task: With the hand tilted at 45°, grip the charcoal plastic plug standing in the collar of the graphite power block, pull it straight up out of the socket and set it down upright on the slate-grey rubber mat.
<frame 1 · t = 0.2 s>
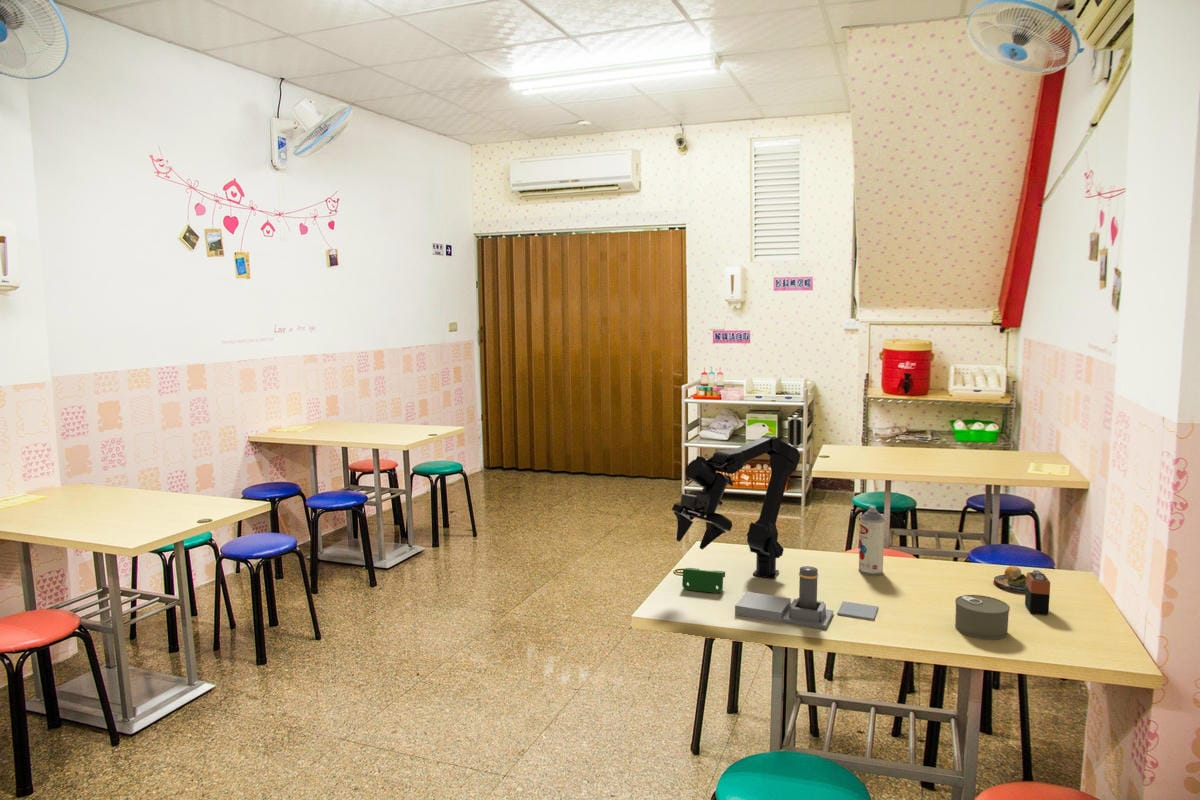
hand: (689, 544, 216), 15 cm above the table, tool tilted 35°, fingers open, 9 cm apart
can: (980, 631, 194), on the table
aerosol can: (870, 572, 237), on the table
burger: (1016, 588, 224), on the table
clamp: (704, 589, 225), on the table
socket block: (807, 618, 202), on the table
mat: (857, 611, 207), on the table
battery: (1036, 611, 206), on the table
plug: (808, 593, 202), in the socket block
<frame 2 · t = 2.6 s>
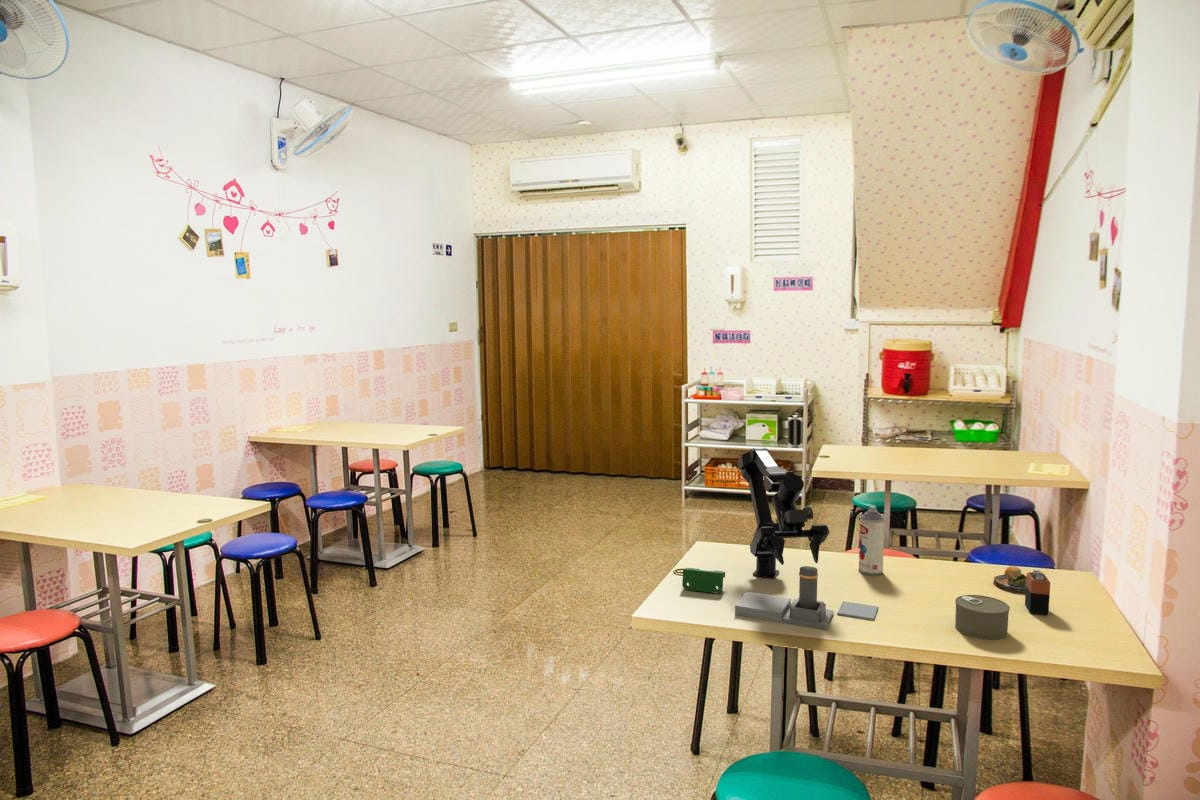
hand: (799, 563, 207), 12 cm above the table, tool tilted 45°, fingers open, 9 cm apart
nothing on the table moved.
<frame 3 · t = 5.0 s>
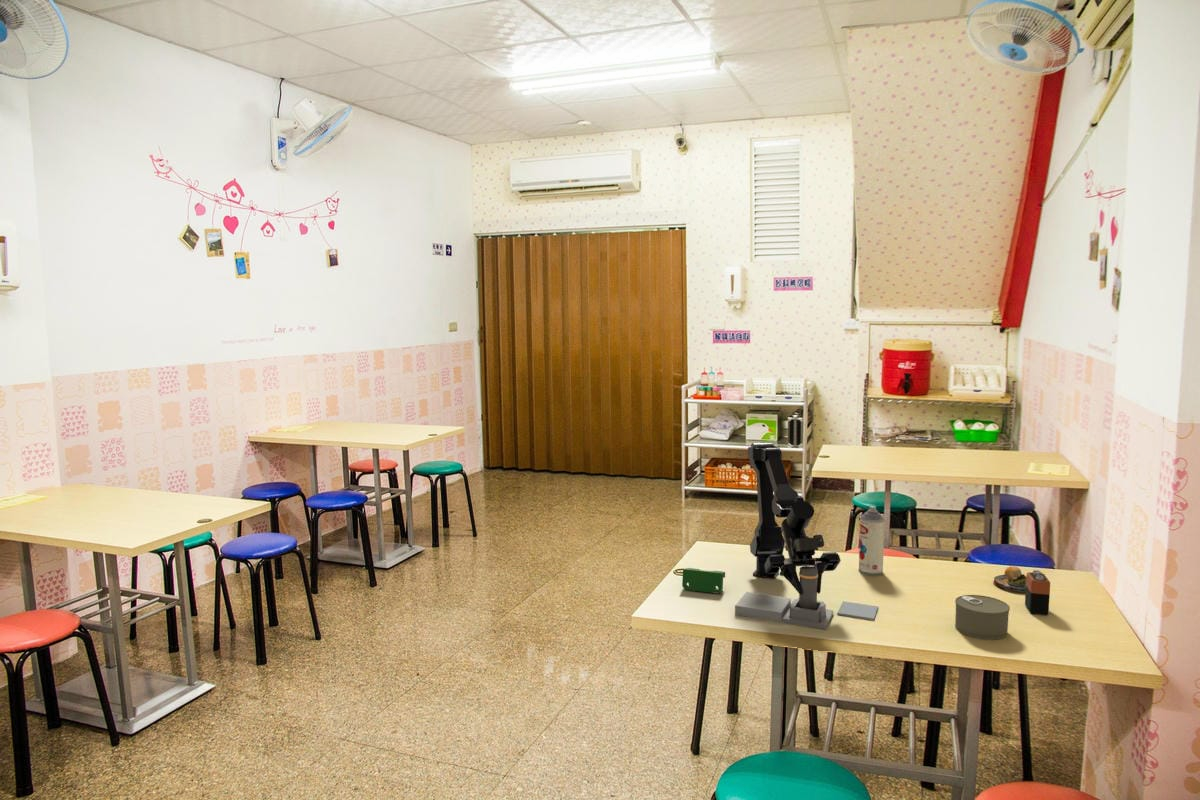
hand: (810, 593, 200), 7 cm above the table, tool tilted 45°, fingers closed on plug, 4 cm apart
plug: (808, 593, 202), in the socket block, touching gripper
everything else where it was.
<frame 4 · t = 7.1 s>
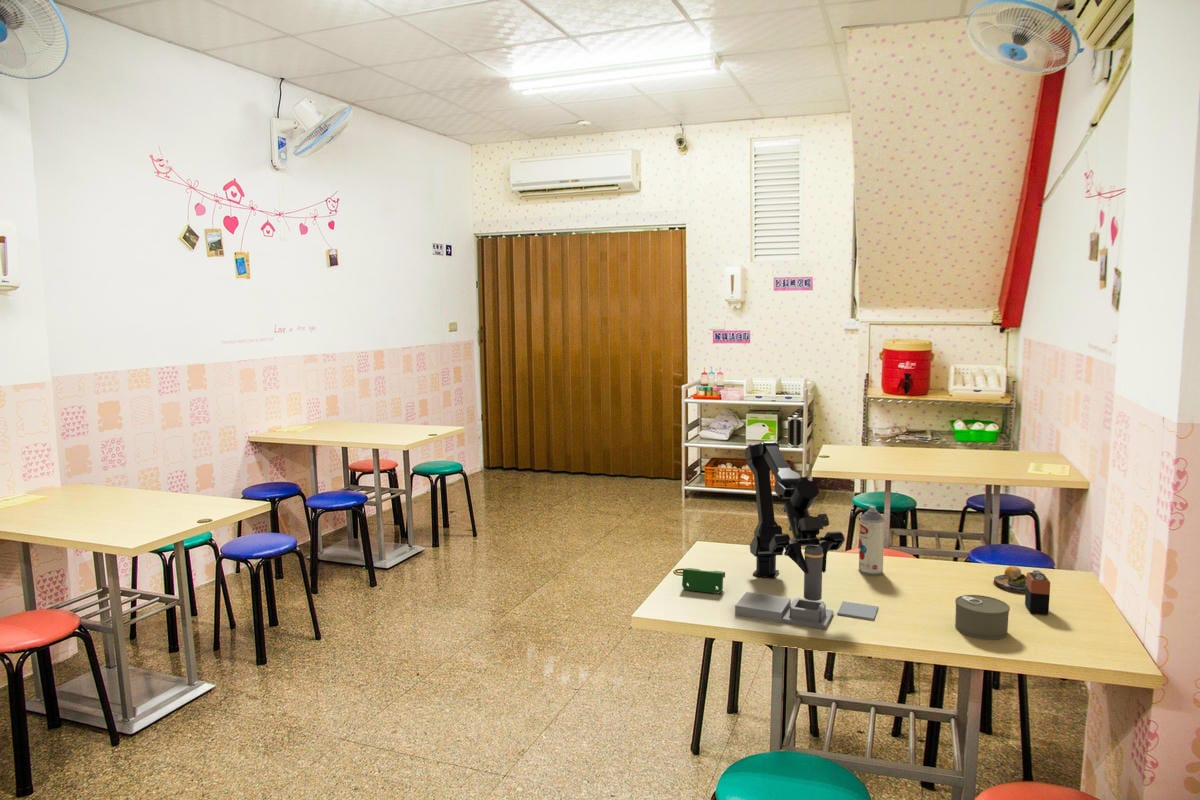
hand: (815, 572, 200), 12 cm above the table, tool tilted 45°, fingers closed on plug, 4 cm apart
plug: (813, 572, 201), point 12 cm above the table, touching gripper
everything else where it was.
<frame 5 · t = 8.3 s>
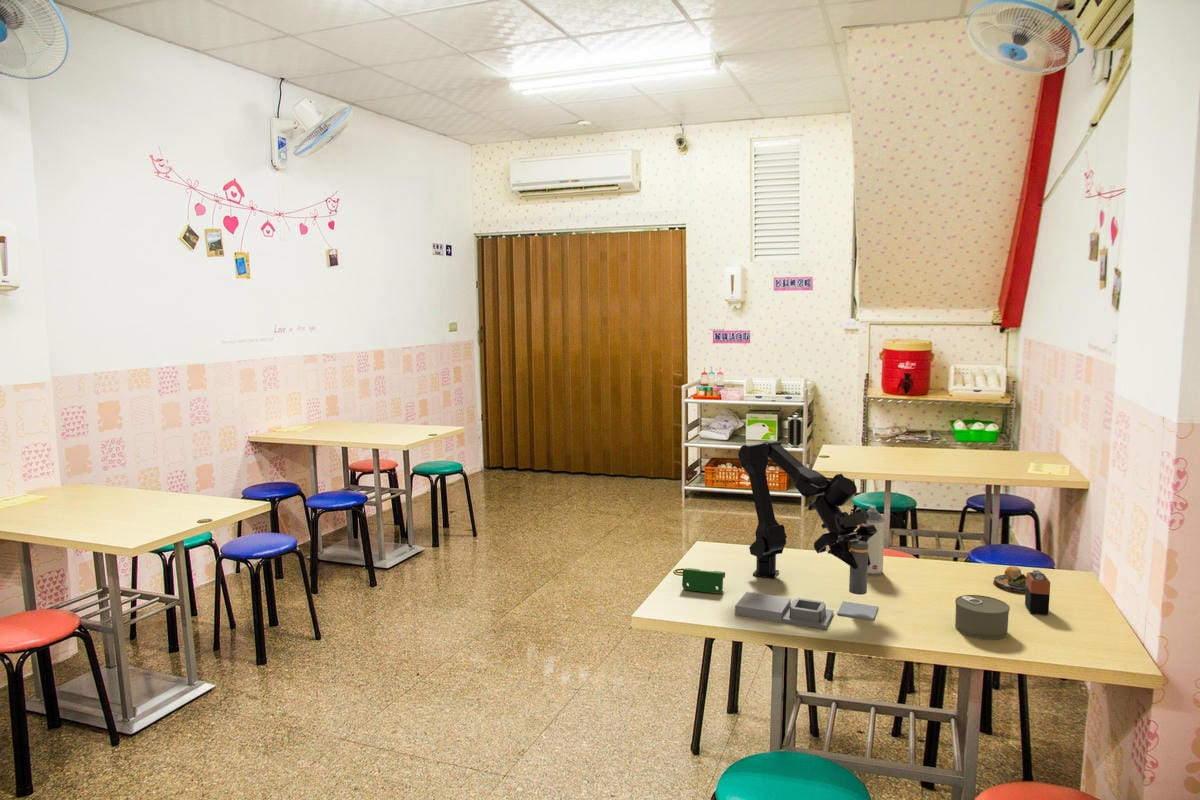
hand: (862, 566, 204), 12 cm above the table, tool tilted 45°, fingers closed on plug, 4 cm apart
plug: (858, 567, 205), point 12 cm above the table, touching gripper
everything else where it was.
when the fingers open (9 cm above the table, at t = 9.4 s): plug drops 1 cm, resting on mat.
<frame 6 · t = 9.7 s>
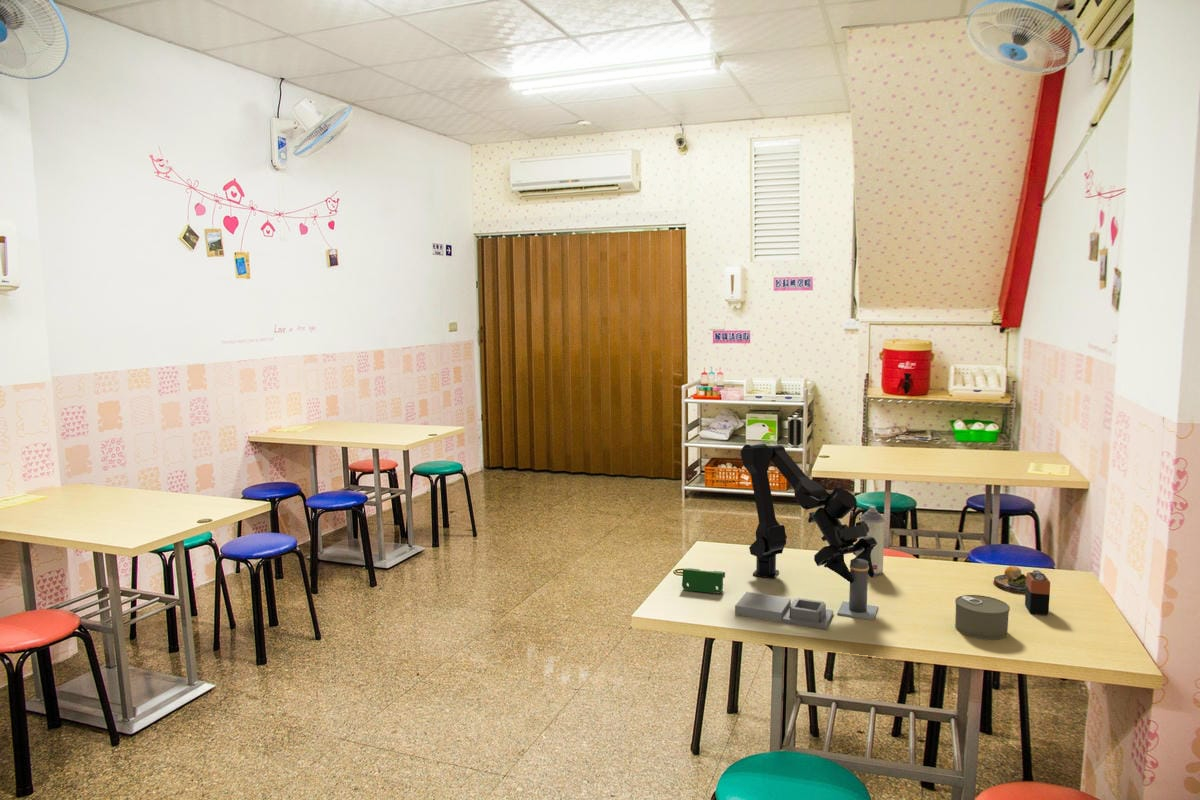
hand: (863, 579, 204), 9 cm above the table, tool tilted 45°, fingers open, 7 cm apart
plug: (858, 585, 206), on the mat
everything else where it was.
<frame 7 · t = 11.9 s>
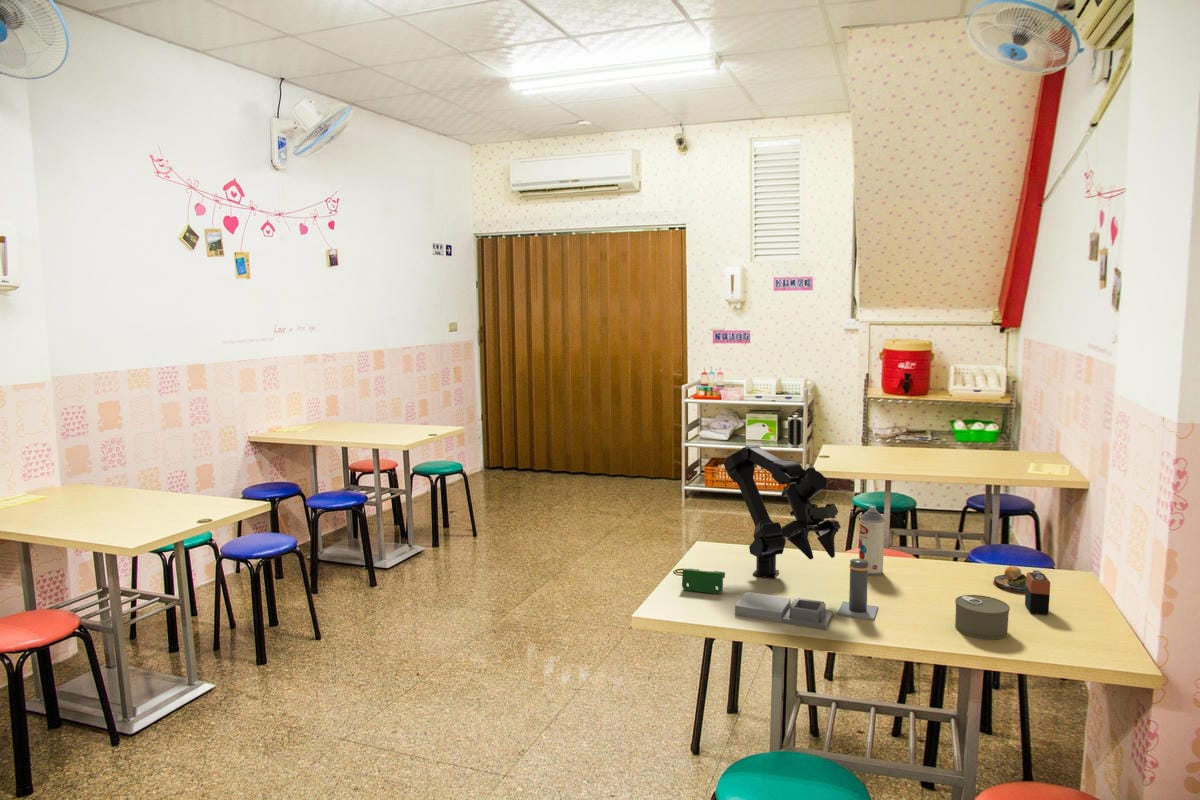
hand: (822, 558, 212), 12 cm above the table, tool tilted 35°, fingers open, 9 cm apart
nothing on the table moved.
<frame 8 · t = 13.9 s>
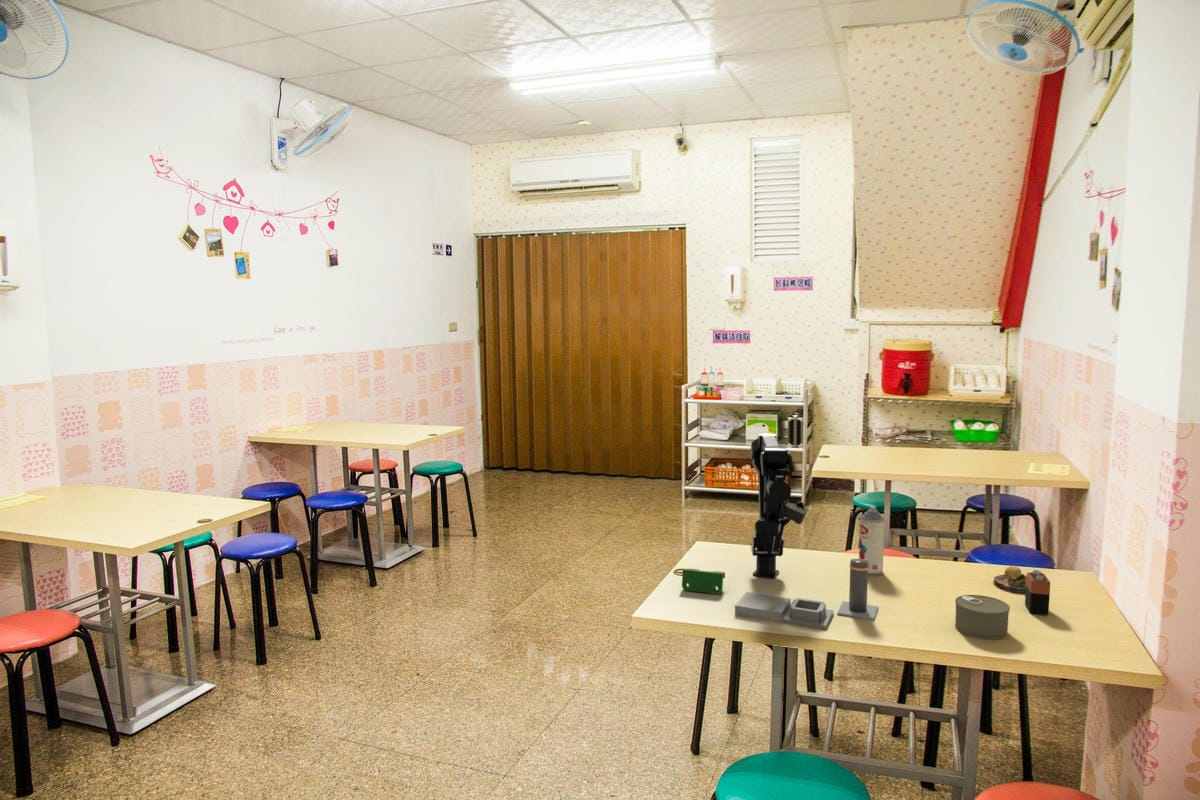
hand: (773, 549, 218), 13 cm above the table, tool pointing down, fingers open, 9 cm apart
nothing on the table moved.
at the end: plug inside the target area on the mat (0.0 cm from its centre), point 7.0 cm above the mat's base; plug tilted 0°; the gripper is holding nothing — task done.
